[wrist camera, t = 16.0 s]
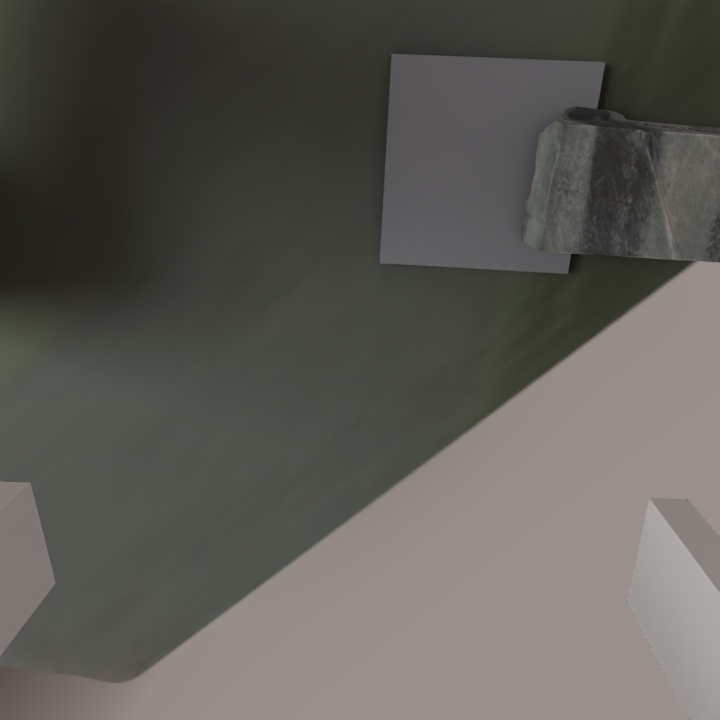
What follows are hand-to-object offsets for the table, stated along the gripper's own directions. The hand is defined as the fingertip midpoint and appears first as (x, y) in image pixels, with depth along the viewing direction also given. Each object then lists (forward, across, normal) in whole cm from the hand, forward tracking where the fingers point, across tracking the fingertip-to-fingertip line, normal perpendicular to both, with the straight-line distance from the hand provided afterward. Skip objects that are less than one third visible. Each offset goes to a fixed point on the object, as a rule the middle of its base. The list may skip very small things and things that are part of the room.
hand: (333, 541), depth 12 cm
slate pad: (+33, +8, +6) cm, 34 cm away
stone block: (+31, +11, +6) cm, 34 cm away
